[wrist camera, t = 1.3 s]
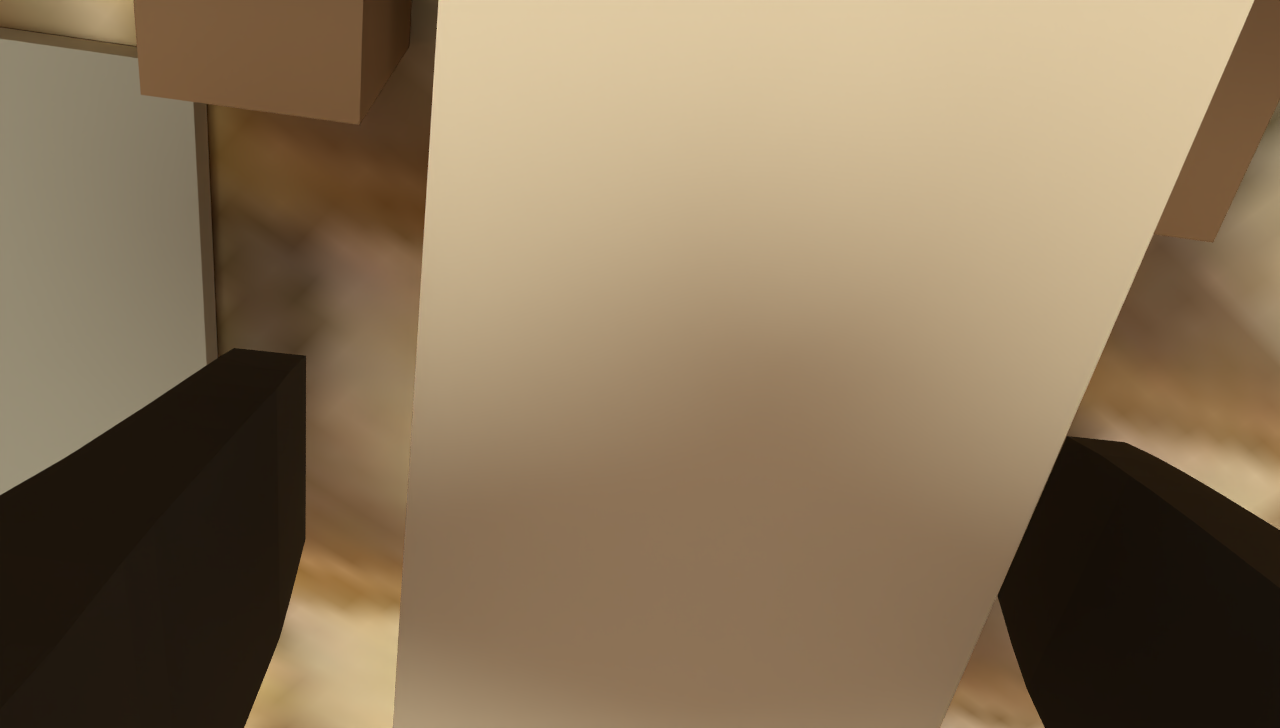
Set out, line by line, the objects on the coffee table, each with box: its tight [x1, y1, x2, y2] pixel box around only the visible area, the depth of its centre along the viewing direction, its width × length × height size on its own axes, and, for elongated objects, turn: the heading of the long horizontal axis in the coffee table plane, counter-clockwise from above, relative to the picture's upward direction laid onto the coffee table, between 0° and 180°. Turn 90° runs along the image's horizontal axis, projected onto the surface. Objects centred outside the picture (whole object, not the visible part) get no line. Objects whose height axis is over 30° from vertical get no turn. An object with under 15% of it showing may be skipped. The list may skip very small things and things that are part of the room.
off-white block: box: [393, 0, 1254, 728], centre depth 10 cm, size 10×5×7 cm, turn 171°
